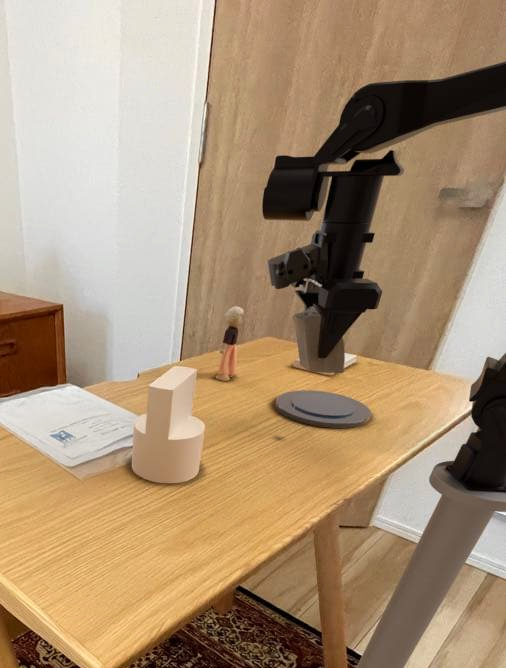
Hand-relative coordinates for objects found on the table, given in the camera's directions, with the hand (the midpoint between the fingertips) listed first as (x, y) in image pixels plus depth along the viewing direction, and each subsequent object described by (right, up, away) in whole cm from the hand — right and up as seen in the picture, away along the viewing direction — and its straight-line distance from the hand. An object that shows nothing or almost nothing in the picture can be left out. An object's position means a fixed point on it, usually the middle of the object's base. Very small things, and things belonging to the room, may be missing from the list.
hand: (315, 351), depth 70 cm
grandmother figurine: (-6, +5, +26) cm, 28 cm away
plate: (+6, -5, +13) cm, 15 cm away
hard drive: (+16, +10, +33) cm, 38 cm away
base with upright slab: (-22, -17, -4) cm, 28 cm away
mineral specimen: (0, -2, +1) cm, 2 cm away
